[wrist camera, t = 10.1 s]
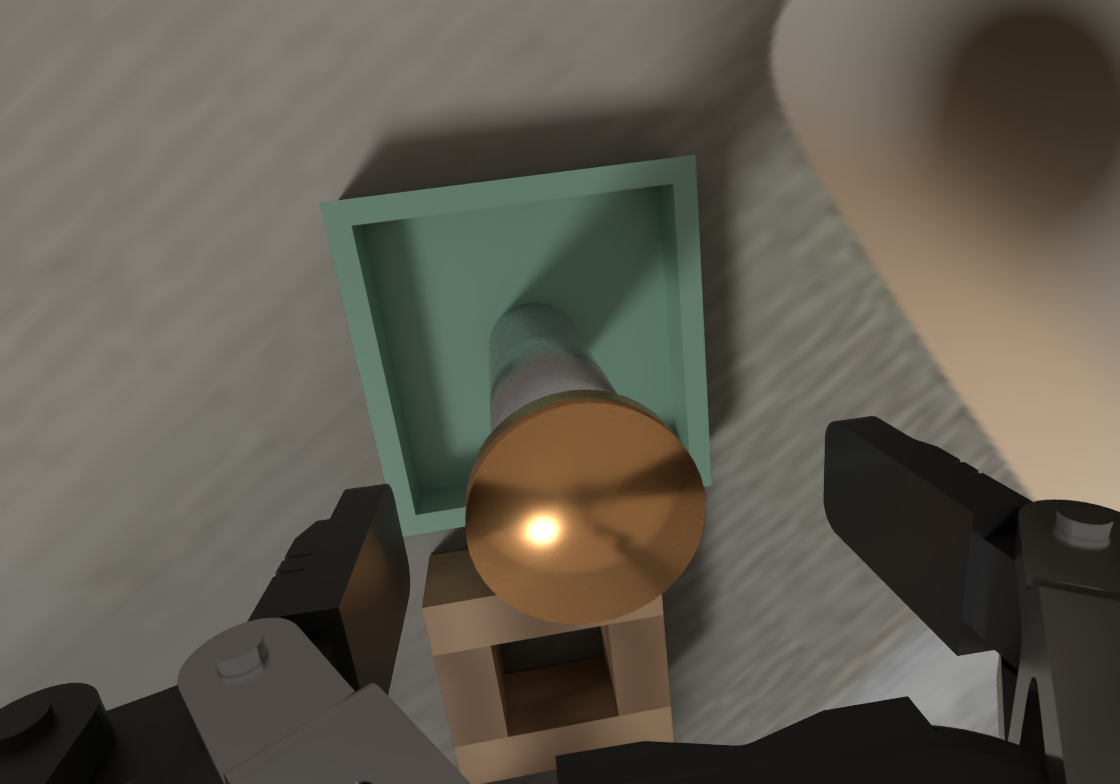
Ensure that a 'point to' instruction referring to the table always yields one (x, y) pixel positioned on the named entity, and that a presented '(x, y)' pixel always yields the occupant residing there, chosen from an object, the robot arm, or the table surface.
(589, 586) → the pin
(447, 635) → the socket block
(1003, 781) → the robot arm
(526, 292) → the tray
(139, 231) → the table surface
